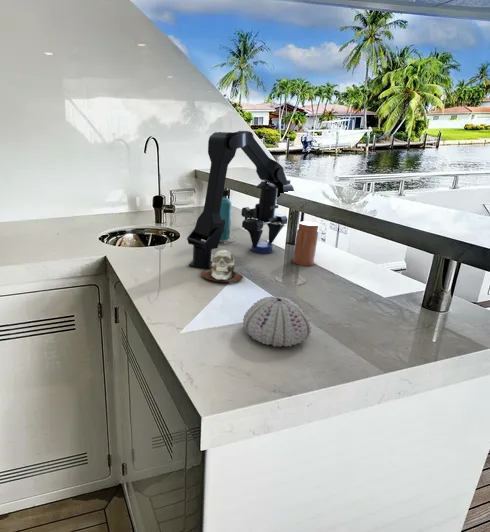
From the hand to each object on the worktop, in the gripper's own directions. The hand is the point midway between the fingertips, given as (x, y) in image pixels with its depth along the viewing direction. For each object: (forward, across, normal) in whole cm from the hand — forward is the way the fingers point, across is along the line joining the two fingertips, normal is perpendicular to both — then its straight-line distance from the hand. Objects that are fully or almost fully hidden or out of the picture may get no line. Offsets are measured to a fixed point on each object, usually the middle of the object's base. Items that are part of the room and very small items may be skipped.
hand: (262, 245), depth 135 cm
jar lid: (0, 0, 0) cm, 0 cm away
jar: (+2, 0, +16) cm, 16 cm away
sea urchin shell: (+2, +48, +38) cm, 62 cm away
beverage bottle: (+2, +4, -16) cm, 17 cm away
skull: (+2, +32, +9) cm, 33 cm away
